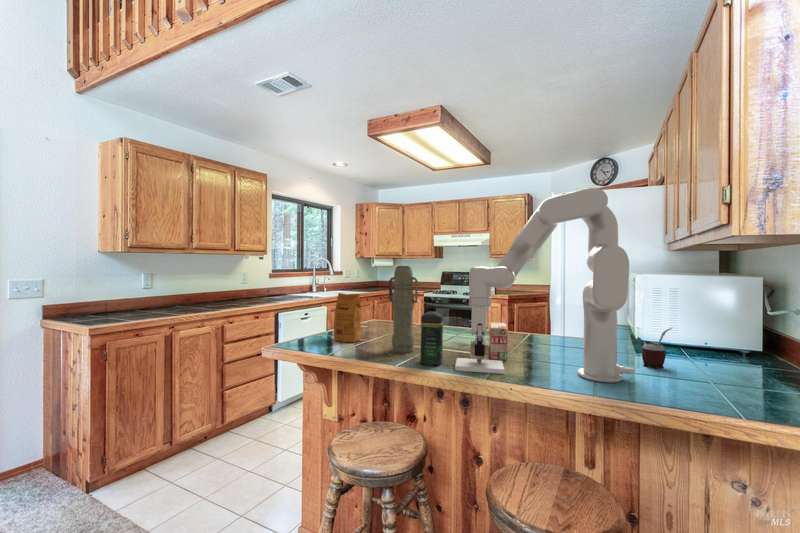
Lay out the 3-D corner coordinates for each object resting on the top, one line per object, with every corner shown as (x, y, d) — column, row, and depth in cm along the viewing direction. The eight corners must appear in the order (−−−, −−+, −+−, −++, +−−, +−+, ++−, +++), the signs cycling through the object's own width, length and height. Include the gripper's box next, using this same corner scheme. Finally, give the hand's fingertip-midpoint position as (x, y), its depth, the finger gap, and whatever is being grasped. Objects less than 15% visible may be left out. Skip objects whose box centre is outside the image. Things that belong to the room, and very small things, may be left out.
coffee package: (340, 337, 178) (341, 291, 178) (364, 339, 174) (364, 292, 174) (329, 341, 169) (330, 293, 169) (354, 343, 164) (354, 294, 164)
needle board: (502, 364, 133) (502, 338, 132) (504, 373, 122) (504, 345, 122) (457, 361, 136) (457, 336, 136) (455, 370, 125) (455, 342, 125)
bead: (488, 355, 131) (488, 341, 131) (488, 359, 125) (488, 345, 125) (470, 354, 132) (471, 340, 132) (470, 358, 127) (470, 344, 126)
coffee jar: (440, 366, 129) (441, 314, 129) (418, 365, 131) (419, 313, 131) (444, 359, 139) (444, 310, 138) (423, 358, 141) (423, 309, 140)
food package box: (489, 347, 161) (489, 318, 161) (504, 347, 160) (504, 319, 160) (490, 359, 140) (490, 327, 140) (507, 360, 139) (507, 328, 139)
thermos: (389, 347, 158) (390, 265, 157) (417, 348, 156) (418, 266, 156) (386, 352, 149) (387, 265, 148) (416, 353, 148) (417, 266, 147)
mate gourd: (638, 363, 136) (639, 322, 136) (664, 365, 133) (664, 324, 133) (645, 369, 129) (646, 326, 129) (672, 371, 126) (673, 327, 126)
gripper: (469, 299, 138) (469, 347, 138) (468, 304, 121) (467, 359, 121) (490, 299, 136) (489, 348, 136) (491, 305, 119) (491, 360, 120)
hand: (479, 353), depth 129 cm, fingers open, 6 cm apart
